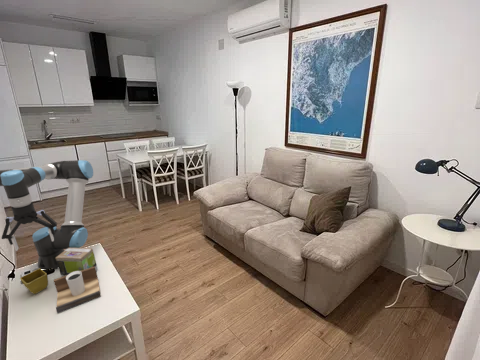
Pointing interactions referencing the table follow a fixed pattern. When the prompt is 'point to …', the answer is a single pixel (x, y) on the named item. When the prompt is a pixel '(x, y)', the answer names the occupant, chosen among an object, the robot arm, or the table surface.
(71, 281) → the white paper cup
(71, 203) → the robot arm
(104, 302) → the table surface
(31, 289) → the flower pot
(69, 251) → the tea box
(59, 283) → the wooden wall shelf
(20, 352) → the table surface
